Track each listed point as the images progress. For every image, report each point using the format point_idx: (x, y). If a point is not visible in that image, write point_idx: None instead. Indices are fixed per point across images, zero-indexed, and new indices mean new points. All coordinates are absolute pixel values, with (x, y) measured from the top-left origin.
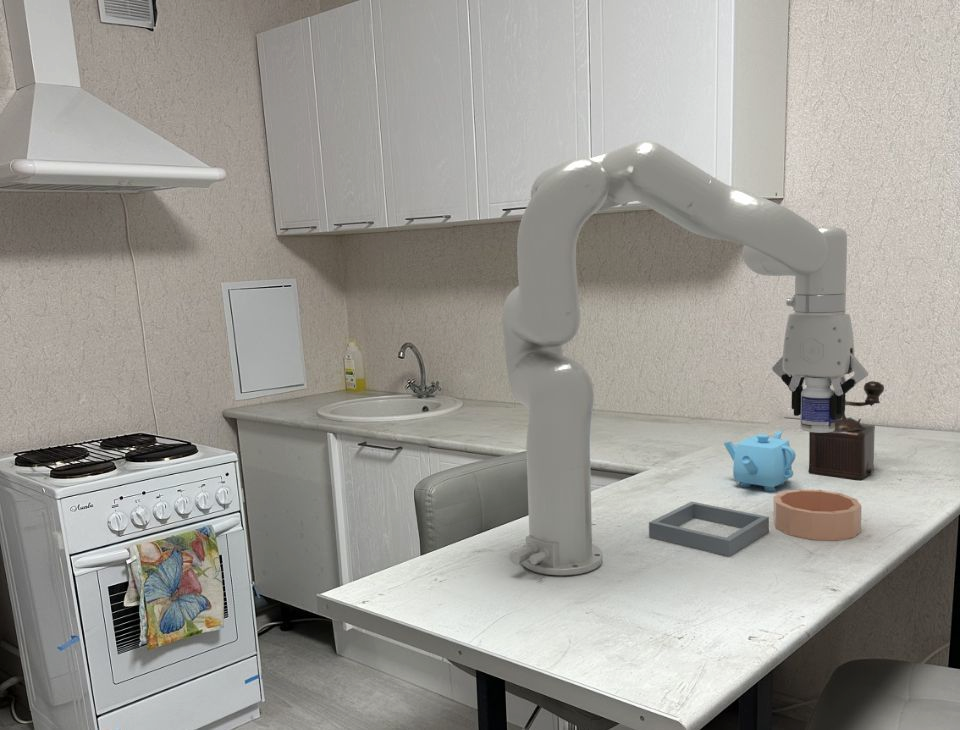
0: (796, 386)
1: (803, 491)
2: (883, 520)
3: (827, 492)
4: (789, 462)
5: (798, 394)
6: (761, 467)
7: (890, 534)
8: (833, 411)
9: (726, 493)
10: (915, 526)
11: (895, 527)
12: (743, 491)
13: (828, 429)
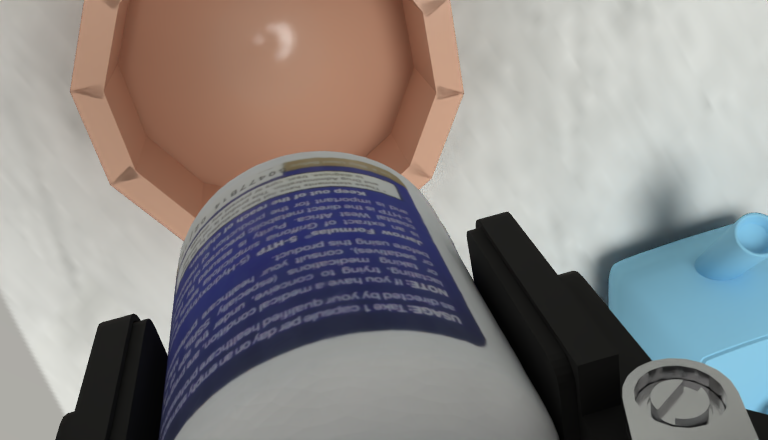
0: (633, 432)
1: (403, 169)
2: (168, 304)
3: None
4: None
5: (548, 358)
6: (691, 285)
7: (45, 201)
8: (101, 364)
9: (728, 127)
10: (61, 333)
11: (92, 276)
12: (689, 193)
13: (180, 257)
